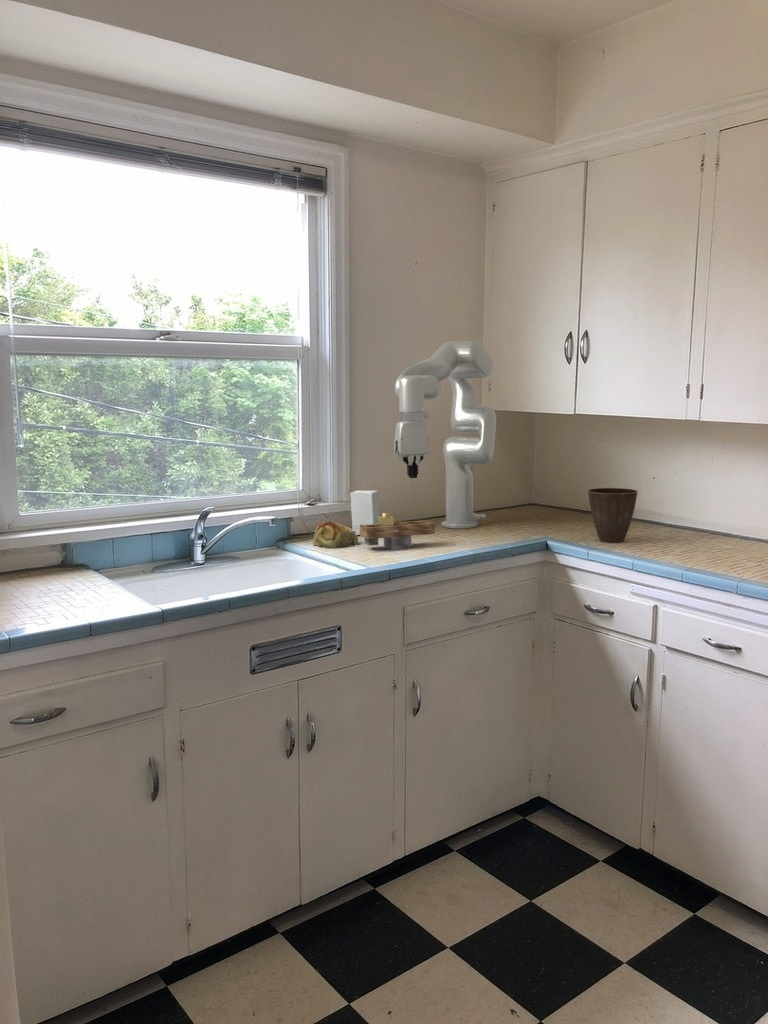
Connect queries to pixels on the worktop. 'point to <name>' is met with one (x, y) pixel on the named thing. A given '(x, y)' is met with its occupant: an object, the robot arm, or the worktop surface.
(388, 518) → the perfume bottle
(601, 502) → the plant pot
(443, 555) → the worktop surface
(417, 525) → the beam
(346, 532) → the pastry
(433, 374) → the robot arm
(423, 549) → the worktop surface
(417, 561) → the worktop surface
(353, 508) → the skincare box
